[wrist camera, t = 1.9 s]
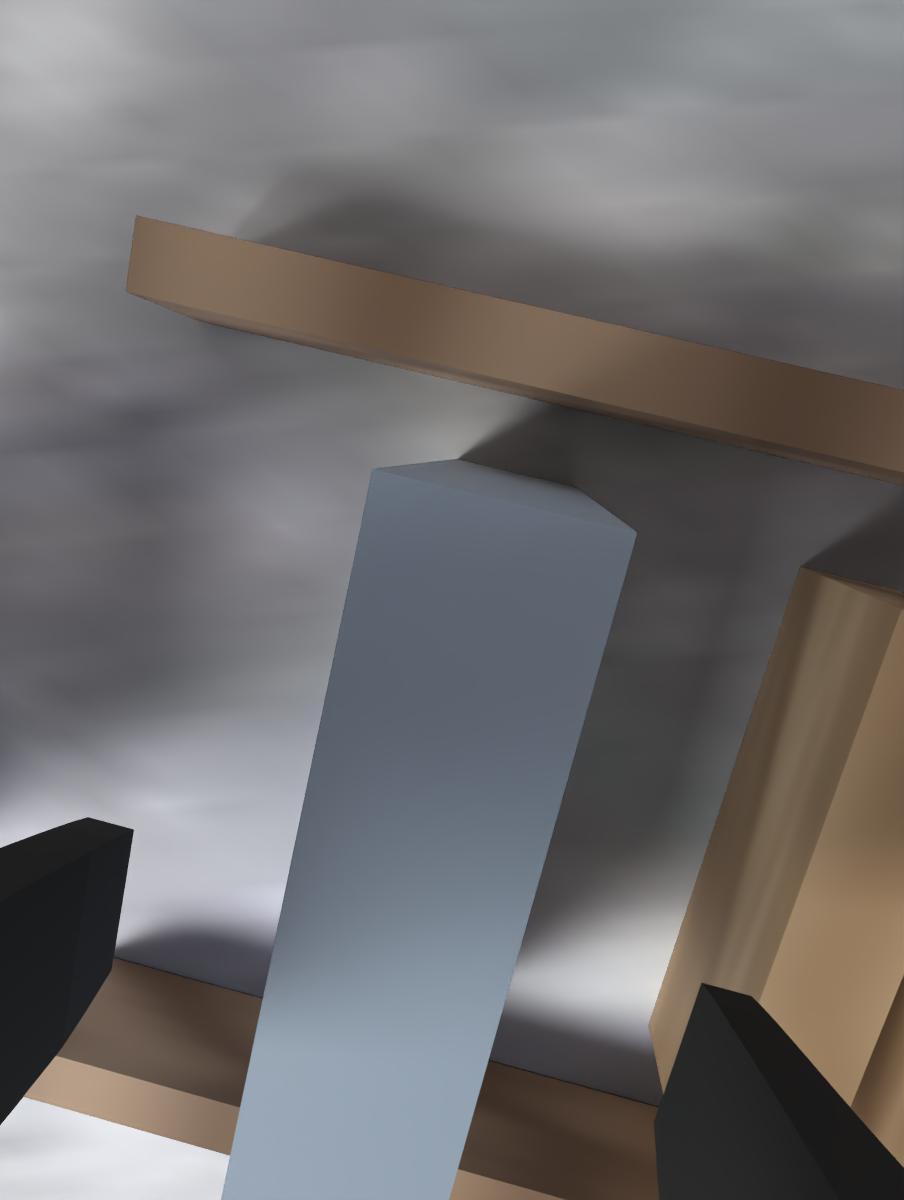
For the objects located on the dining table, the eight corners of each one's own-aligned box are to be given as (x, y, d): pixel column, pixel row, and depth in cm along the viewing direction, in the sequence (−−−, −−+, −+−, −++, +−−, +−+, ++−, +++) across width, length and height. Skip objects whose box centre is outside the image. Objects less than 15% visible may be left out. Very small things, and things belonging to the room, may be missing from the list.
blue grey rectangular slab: (342, 960, 18) (174, 1423, 10) (457, 458, 16) (373, 469, 7) (444, 988, 18) (368, 1483, 10) (576, 487, 16) (637, 533, 7)
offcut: (647, 1020, 18) (686, 1202, 14) (797, 565, 16) (901, 609, 11) (732, 1043, 18) (798, 1234, 14) (894, 589, 16) (1037, 641, 11)
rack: (94, 996, 19) (16, 1094, 16) (209, 260, 16) (135, 215, 13) (968, 1238, 18) (1054, 1390, 15) (1303, 511, 15) (1497, 526, 12)
